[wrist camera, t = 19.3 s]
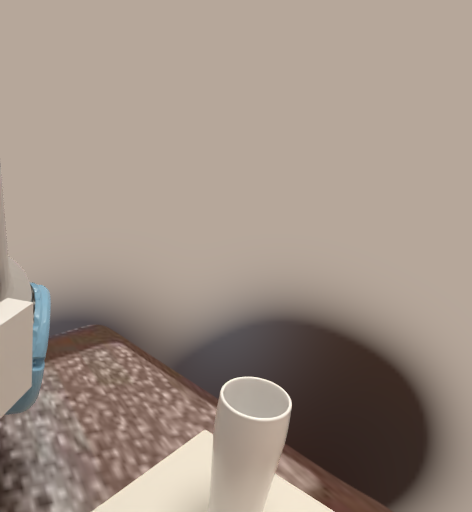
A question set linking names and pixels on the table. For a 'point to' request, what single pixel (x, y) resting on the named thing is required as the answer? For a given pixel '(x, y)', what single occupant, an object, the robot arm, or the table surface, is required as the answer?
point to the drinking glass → (247, 443)
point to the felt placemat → (196, 486)
